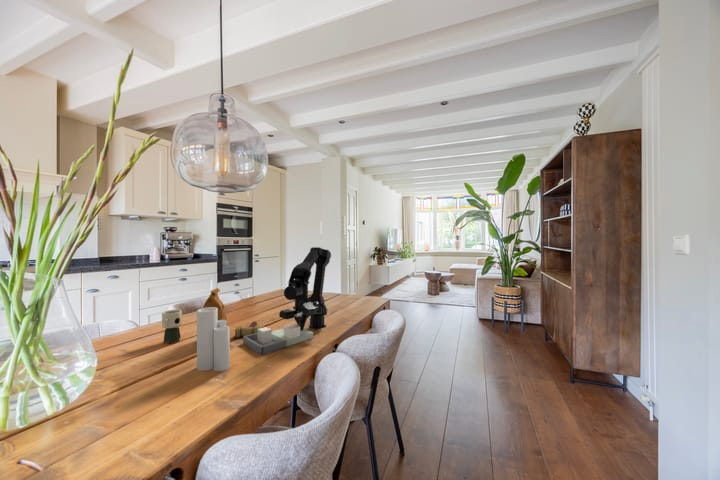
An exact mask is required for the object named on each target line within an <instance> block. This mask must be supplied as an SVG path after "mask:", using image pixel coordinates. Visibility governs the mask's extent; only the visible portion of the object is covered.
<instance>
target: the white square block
mask: <svg viewBox="0 0 720 480" xmlns="http://www.w3.org/2000/svg"><path fill="white" fill-rule="evenodd" d="M258 341H259V342H261V343H267V342H271V341H272V329H271V328H270V327H267V326H264V327H261V328H260V329H258Z"/></svg>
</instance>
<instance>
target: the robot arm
mask: <svg viewBox="0 0 720 480" xmlns="http://www.w3.org/2000/svg"><path fill="white" fill-rule="evenodd" d="M331 258H332V253H331V251H330V250H329V249H324V248H322V247H319V246H317V247H316V246H315V247H310V249H309V252H308V254H307V255H306V256H305V258H304V259H303V261H302V262H300V263H299V264H296V265H295V267H293V269H292V271H291V273H290V277H289V280H288V282H287V283H288V284H287V285H288V286H286V287H285V289H284V291H283V295H284V298H285V299H287V300H289V301H293V300H294V306H293V307H292V308H293V310H291V309H290V308H287V309H282V310H280V312H279V314H278V315H279V318H281V319H284V320H290V319H294V320H295V322H296V325H298V326H300V331H303V328H304V329H305V325H306V323H307V320H308V319H309V324H308V327H309V328H313V329H315V330H319V329H321V328H326V327H327V325H326V324H325V316H327V314H328V308H327V306H326V305H325V299H324V296H323V290H324V282H325V277H326V275H325V274H326V267H327V266H328V264H329V263H330V262H331V261H330V260H331ZM314 265H315V273H314V280H313V286H312V294H311V295H310V296H309V285H308V284H310V281H309V280H310V278H311V277H312V268H313V266H314Z"/></svg>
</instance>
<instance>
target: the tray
mask: <svg viewBox="0 0 720 480" xmlns="http://www.w3.org/2000/svg"><path fill="white" fill-rule="evenodd" d="M242 337H243V338H242V340H243V342H242V343H243V345H245V346H246V347H248V348H250V349H251V350H253V351H254V352H255V353H257V354H259V355H261V356H264V355H266V354H267V355H268V354H271V353H273V352H278V351H280V350H283V349H286V348H287V347H288V346H287V340H283V341H280V342H277V341H275V340H273V339H272V341H271V342H267V343H261V342H259V341H258V333H255V334H251V335H247V336H242Z"/></svg>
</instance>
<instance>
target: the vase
mask: <svg viewBox="0 0 720 480" xmlns="http://www.w3.org/2000/svg"><path fill="white" fill-rule="evenodd" d="M230 339H231V338H230V326H227V323H226V320H218V309H217V308H215V307H209V308H203V307H202V308H199V309H197V310H196V368H197V371H200V372H205V371H207V372H208V371H211V370H213V371H215V372H225V371H227V370H229V369H230V368H231V367H230V365H231V364H230V363H231V360H230V359H231V357H230V355H231V353H230V350H231V349H230V347H231V345H230Z"/></svg>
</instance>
